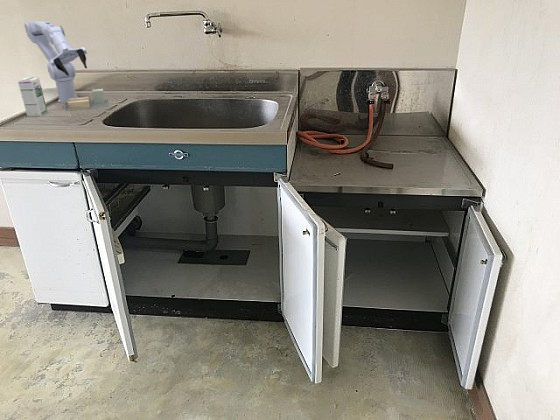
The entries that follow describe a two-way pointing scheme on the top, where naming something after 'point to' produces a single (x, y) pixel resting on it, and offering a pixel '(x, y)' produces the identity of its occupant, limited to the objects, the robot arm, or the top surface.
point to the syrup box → (32, 96)
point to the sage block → (98, 95)
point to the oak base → (78, 103)
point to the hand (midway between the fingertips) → (76, 70)
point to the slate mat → (92, 105)
